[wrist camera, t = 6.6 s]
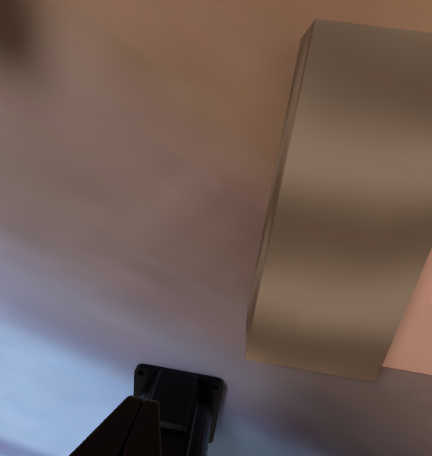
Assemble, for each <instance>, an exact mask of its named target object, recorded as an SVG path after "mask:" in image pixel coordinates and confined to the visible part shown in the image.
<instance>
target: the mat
mask: <svg viewBox="0 0 432 456" xmlns="http://www.w3.org/2000/svg"><path fill="white" fill-rule="evenodd" d="M382 366H383V367H389V368H395V369H400V370H406V371H411V372H417V373H422V374H428V375H432V248H431V251H430V253H429V256H428V258H427V260H426V263H425V265H424V267H423V270H422V272H421V275H420V277H419V279H418V282H417V284H416V286H415V289H414V291H413V294H412V296H411V298H410V301H409V303H408V306H407V308H406V310H405V313H404V315H403V317H402V320H401V322H400V325H399V327H398V329H397V332H396V334H395V336H394V339H393V341H392V344H391V346H390V348H389V351H388V353H387V355H386V358H385V360H384V363H383V365H382Z"/></svg>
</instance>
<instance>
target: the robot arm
mask: <svg viewBox="0 0 432 456" xmlns="http://www.w3.org/2000/svg"><path fill="white" fill-rule="evenodd" d="M142 371H143V372H142ZM222 388H223V382H222V380H221V379H219V378H216V377H210V376H205V375H200V374H194V373H189V372H183V371H178V370H173V369H167V368H162V367H157V366H151V365H146V364H139V365H137V367H136V369H135V372H134V396H128V397H127V398H126V399H125V400H124V401H123V402H122V403H121V404H120V405H119V406H118V407H117V408H116V409H115V410H114V411H113V412H112V413H111V414H110V415H109V416H108V417H107V418H106V419H105V420H104V421H103V422H102V423H101V424H100V425H99V426H98V427H97V428H96V429H95V430H94V431H93V432H92V433H91V434H90V435H89V436H88V437H87V438H86V439H85V440H84V441H83V442H82V443H81V444H80V445H79V446H78V447H77V448H76V449H75V450H74V451H73V452H72V453H71V454H70V455H69V456H207V450H208V443H211V442H212V441H213V438H214V433H215V427H216V421H217V416H218V410H219V405H220V399H221V394H222Z"/></svg>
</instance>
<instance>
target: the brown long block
mask: <svg viewBox="0 0 432 456" xmlns="http://www.w3.org/2000/svg"><path fill="white" fill-rule="evenodd" d="M431 248H432V33H426V32H418V31H410V30H401V29H393V28H385V27H376V26H368V25H360V24H351V23H343V22H335V21H326V20H318V19H315V21H314V22H313V23H312V25H311V26H310V27H309V29H308V30H307V31H306V33H305V34H304V35H303V37H302V38H301V42H300V47H299V52H298V57H297V62H296V67H295V72H294V78H293V83H292V88H291V93H290V98H289V103H288V108H287V113H286V118H285V123H284V128H283V133H282V139H281V144H280V149H279V154H278V159H277V164H276V169H275V174H274V179H273V184H272V189H271V195H270V200H269V205H268V210H267V215H266V220H265V225H264V230H263V235H262V240H261V245H260V250H259V256H258V261H257V266H256V271H255V276H254V281H253V286H252V291H251V296H250V301H249V306H248V312H247V326H246V351H245V359H248V360H254V361H259V362H265V363H270V364H275V365H281V366H286V367H292V368H297V369H303V370H308V371H314V372H319V373H325V374H330V375H336V376H341V377H347V378H352V379H358V380H363V381H369V382H374V383H375V382H376V379H377V377H378V374H379V372H380V370H381V367H382V365H383V363H384V360H385V358H386V355H387V353H388V351H389V348H390V346H391V344H392V341H393V339H394V336H395V334H396V332H397V329H398V327H399V325H400V322H401V320H402V317H403V315H404V313H405V310H406V308H407V306H408V303H409V301H410V298H411V296H412V294H413V291H414V289H415V286H416V284H417V282H418V279H419V277H420V275H421V272H422V270H423V267H424V265H425V263H426V260H427V258H428V256H429V253H430V251H431Z"/></svg>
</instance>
